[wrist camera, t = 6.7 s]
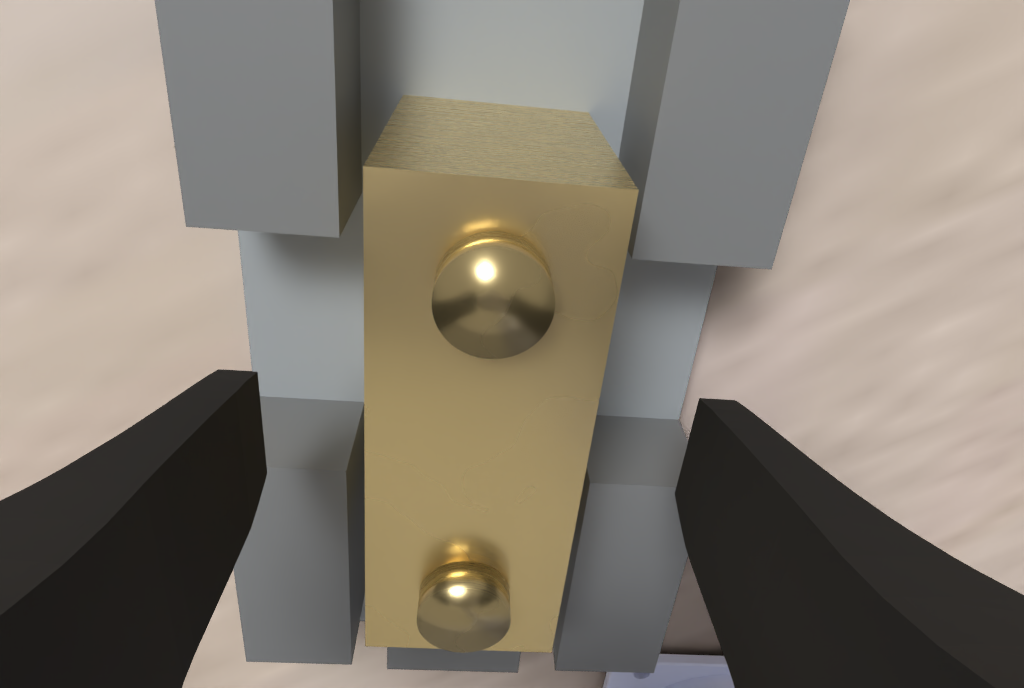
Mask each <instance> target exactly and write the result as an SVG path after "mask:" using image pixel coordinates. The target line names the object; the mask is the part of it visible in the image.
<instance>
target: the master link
mask: <svg viewBox="0 0 1024 688" xmlns="http://www.w3.org/2000/svg"><path fill="white" fill-rule="evenodd" d="M638 192H639V190H638V188H637V187H636V185H635V184H634V182H633V181H632V179H631V177H630V176H629V174H628V173H627V171H626V170H625V168H624V167H623V165H622V163H621V162H620V160H619V159H618V157H617V156H616V154H615V153H614V151H613V150H612V148H611V146H610V145H609V143H608V142H607V140H606V139H605V137H604V136H603V134H602V132H601V131H600V129H599V128H598V126H597V125H596V123H595V122H594V120H593V119H592V117H591V115H590V114H589V112H581V111H570V110H560V109H549V108H539V107H528V106H517V105H507V104H496V103H486V102H475V101H465V100H454V99H444V98H433V97H423V96H412V95H403V96H402V98H401V100H400V101H399V103H398V105H397V107H396V109H395V110H394V112H393V114H392V116H391V117H390V119H389V121H388V123H387V125H386V126H385V128H384V130H383V132H382V134H381V135H380V137H379V139H378V141H377V143H376V144H375V146H374V148H373V150H372V151H371V153H370V155H369V157H368V159H367V160H366V162H365V164H364V166H363V241H364V462H365V646H374V647H403V648H432V649H443V650H446V651H451V652H459V653H468V652H475V651H480V650H490V651H519V652H548V653H552V648H553V643H554V637H555V632H556V627H557V621H558V616H559V611H560V605H561V600H562V595H563V590H564V584H565V579H566V574H567V568H568V563H569V558H570V552H571V547H572V542H573V536H574V531H575V526H576V521H577V515H578V510H579V505H580V499H581V494H582V489H583V483H584V478H585V473H586V468H587V462H588V457H589V452H590V446H591V441H592V436H593V430H594V425H595V420H596V415H597V409H598V404H599V399H600V393H601V388H602V383H603V377H604V372H605V367H606V361H607V356H608V351H609V346H610V340H611V335H612V330H613V324H614V319H615V314H616V308H617V303H618V298H619V293H620V287H621V282H622V277H623V271H624V266H625V261H626V255H627V250H628V245H629V240H630V234H631V229H632V224H633V218H634V213H635V208H636V202H637V197H638Z"/></svg>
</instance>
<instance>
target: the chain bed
mask: <svg viewBox="0 0 1024 688" xmlns="http://www.w3.org/2000/svg"><path fill="white" fill-rule="evenodd" d="M849 2H850V0H155V6H156V13H157V20H158V27H159V34H160V42H161V49H162V56H163V63H164V70H165V78H166V85H167V92H168V99H169V107H170V114H171V121H172V128H173V135H174V143H175V150H176V157H177V164H178V171H179V179H180V186H181V193H182V200H183V208H184V215H185V222H186V227H199V228H213V229H226V230H238V236H239V246H240V256H241V266H242V276H243V285H244V295H245V305H246V315H247V325H248V335H249V344H250V354H251V364H252V371H253V372H258V382H259V392H260V403H261V413H262V424H263V434H264V444H265V455H266V465H267V476H266V480H265V483H264V487H263V490H262V494H261V498H260V501H259V505H258V508H257V511H256V514H255V518H254V521H253V524H252V527H251V530H250V532H249V534H248V537H247V539H246V541H245V544H244V546H243V548H242V550H241V553H240V555H239V557H238V559H237V562H236V564H235V566H234V575H235V583H236V590H237V597H238V604H239V612H240V619H241V626H242V633H243V640H244V648H245V655H246V662H281V663H316V664H351V665H352V660H353V654H354V649H355V643H356V638H357V633H358V627H359V622H360V621H365V462H364V241H363V166H364V164H365V162H366V160H367V159H368V157H369V155H370V153H371V151H372V150H373V148H374V146H375V144H376V143H377V141H378V139H379V137H380V135H381V134H382V132H383V130H384V128H385V126H386V125H387V123H388V121H389V119H390V117H391V116H392V114H393V112H394V110H395V109H396V107H397V105H398V103H399V101H400V100H401V98H402V96H403V95H412V96H423V97H433V98H444V99H454V100H465V101H475V102H486V103H496V104H507V105H517V106H528V107H539V108H549V109H560V110H570V111H581V112H589V114H590V115H591V117H592V119H593V120H594V122H595V123H596V125H597V126H598V128H599V129H600V131H601V132H602V134H603V136H604V137H605V139H606V140H607V142H608V143H609V145H610V146H611V148H612V150H613V151H614V153H615V154H616V156H617V157H618V159H619V160H620V162H621V163H622V165H623V167H624V168H625V170H626V171H627V173H628V174H629V176H630V177H631V179H632V181H633V182H634V184H635V185H636V187H637V188H638V190H639V192H638V197H637V202H636V208H635V213H634V218H633V224H632V229H631V234H630V240H629V245H628V250H627V255H626V261H625V266H624V271H623V277H622V282H621V287H620V293H619V298H618V303H617V308H616V314H615V319H614V324H613V330H612V335H611V340H610V346H609V351H608V356H607V361H606V367H605V372H604V377H603V383H602V388H601V393H600V399H599V404H598V409H597V415H596V420H595V425H594V430H593V436H592V441H591V446H590V452H589V457H588V462H587V468H586V473H585V478H584V483H583V489H582V494H581V499H580V505H579V510H578V515H577V521H576V526H575V531H574V536H573V542H572V547H571V552H570V558H569V563H568V568H567V574H566V579H565V584H564V590H563V595H562V600H561V605H560V611H559V616H558V621H557V627H556V632H555V637H554V643H553V653H554V663H555V670H561V671H596V672H631V673H654V671H655V667H656V664H657V661H658V657H659V654H660V650H661V647H662V643H663V640H664V636H665V633H666V630H667V626H668V623H669V619H670V616H671V612H672V609H673V606H674V602H675V599H676V595H677V592H678V588H679V585H680V582H681V578H682V575H683V571H684V568H685V564H686V561H687V558H688V553H687V550H686V547H685V543H684V538H683V534H682V529H681V525H680V520H679V514H678V509H677V504H676V499H675V490H676V486H677V483H678V479H679V475H680V471H681V467H682V463H683V460H684V456H685V452H686V448H687V444H688V440H687V438H686V436H685V433H684V431H683V428H682V426H681V424H680V421H679V417H680V413H681V409H682V405H683V401H684V397H685V393H686V389H687V385H688V381H689V377H690V373H691V369H692V365H693V361H694V357H695V353H696V349H697V345H698V341H699V337H700V333H701V329H702V325H703V321H704V317H705V313H706V309H707V305H708V302H709V298H710V294H711V290H712V286H713V282H714V278H715V274H716V270H717V266H718V265H719V266H732V267H746V268H760V269H772V266H773V263H774V259H775V256H776V252H777V249H778V245H779V242H780V239H781V235H782V232H783V228H784V225H785V221H786V218H787V215H788V211H789V208H790V204H791V201H792V197H793V194H794V191H795V187H796V184H797V180H798V177H799V173H800V170H801V167H802V163H803V160H804V156H805V153H806V149H807V146H808V143H809V139H810V136H811V132H812V129H813V125H814V122H815V119H816V115H817V112H818V108H819V105H820V101H821V98H822V95H823V91H824V88H825V84H826V81H827V77H828V74H829V71H830V67H831V64H832V60H833V57H834V53H835V50H836V47H837V43H838V40H839V36H840V33H841V29H842V26H843V23H844V19H845V16H846V12H847V9H848V5H849ZM520 654H521V652H519V651H490V650H480V651H475V652H468V653H459V652H451V651H446V650H443V649H432V648H403V647H387V669H410V670H446V671H481V672H517V673H518V668H519V661H520Z"/></svg>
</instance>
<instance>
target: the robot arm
mask: <svg viewBox="0 0 1024 688" xmlns="http://www.w3.org/2000/svg"><path fill="white" fill-rule="evenodd" d="M266 476H267V465H266V455H265V444H264V434H263V424H262V413H261V403H260V392H259V382H258V372H253V371H236V370H219V369H218V370H217V371H215V372H213V373H212V374H210V375H208V376H207V377H205V378H204V379H202V380H200V381H199V382H197V383H196V384H194V385H193V386H191V387H190V388H188V389H187V390H185V391H184V392H183V393H181V394H180V395H178V396H177V397H175V398H174V399H172V400H171V401H169V402H168V403H166V404H165V405H163V406H162V407H160V408H159V409H157V410H156V411H154V412H153V413H151V414H150V415H148V416H147V417H145V418H144V419H142V420H141V421H139V422H138V423H136V424H135V425H133V426H132V427H130V428H128V429H127V430H125V431H124V432H122V433H121V434H119V435H118V436H116V437H114V438H113V439H111V440H109V441H108V442H106V443H104V444H103V445H101V446H99V447H97V448H96V449H94V450H92V451H91V452H89V453H87V454H86V455H84V456H82V457H81V458H79V459H77V460H76V461H74V462H72V463H71V464H69V465H67V466H66V467H64V468H62V469H61V470H59V471H57V472H55V473H53V474H52V475H50V476H48V477H46V478H44V479H42V480H41V481H39V482H37V483H35V484H33V485H31V486H29V487H27V488H25V489H23V490H21V491H19V492H17V493H15V494H13V495H11V496H9V497H7V498H5V499H3V500H1V501H0V688H182V685H183V682H184V680H185V677H186V675H187V672H188V670H189V667H190V665H191V662H192V660H193V657H194V655H195V652H196V650H197V648H198V646H199V643H200V641H201V639H202V637H203V635H204V632H205V630H206V628H207V626H208V624H209V621H210V619H211V617H212V615H213V613H214V610H215V608H216V606H217V604H218V601H219V599H220V597H221V595H222V593H223V590H224V588H225V586H226V584H227V582H228V579H229V577H230V575H231V573H232V571H233V568H234V566H235V564H236V562H237V559H238V557H239V555H240V553H241V550H242V548H243V546H244V544H245V541H246V539H247V537H248V534H249V532H250V530H251V527H252V524H253V521H254V518H255V514H256V511H257V508H258V505H259V501H260V498H261V494H262V490H263V487H264V483H265V480H266ZM675 499H676V504H677V509H678V514H679V520H680V525H681V529H682V534H683V538H684V543H685V547H686V550H687V553H688V556H689V559H690V562H691V565H692V568H693V570H694V573H695V576H696V579H697V582H698V585H699V588H700V590H701V593H702V596H703V599H704V601H705V604H706V607H707V610H708V613H709V615H710V618H711V621H712V624H713V626H714V629H715V632H716V635H717V638H718V640H719V643H720V646H721V649H722V651H723V654H724V656H715V655H682V654H659V657H658V661H657V664H656V667H655V671H654V673H631V672H606V677H605V681H604V685H603V688H1024V595H1022V594H1020V593H1018V592H1017V591H1015V590H1013V589H1011V588H1009V587H1007V586H1005V585H1003V584H1001V583H999V582H998V581H996V580H994V579H992V578H990V577H988V576H986V575H984V574H982V573H980V572H979V571H977V570H975V569H973V568H972V567H970V566H968V565H966V564H964V563H963V562H961V561H959V560H957V559H956V558H954V557H952V556H951V555H949V554H947V553H946V552H944V551H942V550H941V549H939V548H937V547H936V546H934V545H933V544H931V543H929V542H928V541H926V540H924V539H923V538H921V537H920V536H918V535H916V534H915V533H913V532H911V531H910V530H908V529H907V528H905V527H904V526H902V525H901V524H899V523H898V522H896V521H894V520H893V519H891V518H890V517H888V516H887V515H886V514H884V513H883V512H881V511H880V510H879V509H877V508H876V507H874V506H873V505H871V504H870V503H869V502H867V501H866V500H864V499H863V498H862V497H860V496H859V495H857V494H856V493H854V492H853V491H852V490H850V489H849V488H848V487H846V486H845V485H844V484H842V483H841V482H840V481H838V480H837V479H836V478H834V477H833V476H832V475H830V474H829V473H828V472H827V471H825V470H824V469H823V468H821V467H820V466H819V465H818V464H816V463H815V462H814V461H812V460H811V459H810V458H809V457H807V456H806V455H805V454H804V453H802V452H801V451H800V450H799V449H797V448H796V447H795V446H794V445H792V444H791V443H790V442H789V441H787V440H786V439H785V438H784V437H782V436H781V435H780V434H779V433H778V432H776V431H775V430H774V429H773V428H771V427H770V426H769V425H768V424H766V423H765V422H764V421H763V420H761V419H760V418H759V417H757V416H756V415H755V414H754V413H752V412H751V411H750V410H748V409H747V408H746V407H744V406H743V405H741V404H740V403H738V402H737V401H735V400H719V399H703V398H699V402H698V406H697V410H696V414H695V417H694V421H693V425H692V429H691V433H690V437H689V440H688V444H687V448H686V452H685V456H684V460H683V463H682V467H681V471H680V475H679V479H678V483H677V486H676V490H675Z"/></svg>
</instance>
